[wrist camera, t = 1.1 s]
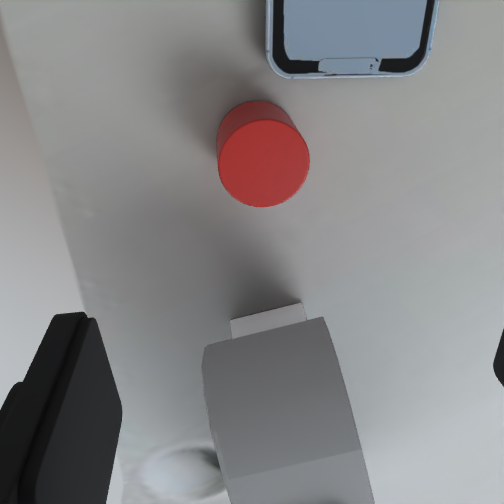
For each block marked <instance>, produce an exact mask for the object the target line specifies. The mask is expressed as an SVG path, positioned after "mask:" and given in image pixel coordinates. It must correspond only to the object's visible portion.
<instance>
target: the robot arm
mask: <svg viewBox="0 0 504 504" xmlns="http://www.w3.org/2000/svg"><path fill="white" fill-rule="evenodd" d="M493 368H494V372H495V375H496V377H497V378H498V380H499V381H500V382H501V384H502V385H503V386H504V329H503V332H502V336H501V339H500V342H499V346H498V349H497V352H496V355H495V359H494V363H493ZM121 422H122V405H121V401H120V398H119V394H118V391H117V388H116V384H115V381H114V377H113V374H112V371H111V367H110V364H109V361H108V357H107V354H106V351H105V347H104V344H103V341H102V337H101V334H100V331H99V327H98V324H97V321H96V319H95V318H88V317H87V315H86V314H85V312H75V313H65V314H56V315H55V316H54V317H53V319H52V320H51V322H50V325H49V327H48V329H47V331H46V333H45V335H44V337H43V340H42V342H41V344H40V346H39V348H38V350H37V353H36V355H35V357H34V359H33V361H32V363H31V365H30V367H29V370H28V372H27V374H26V376H25V378H24V380H23V382H18V383H16V384H15V385H14V386H13V387H12V389H11V390H10V392H9V393H8V396H7V398H6V400H5V402H4V404H3V406H2V408H1V410H0V504H106V500H107V495H108V490H109V485H110V479H111V474H112V469H113V464H114V458H115V453H116V448H117V443H118V438H119V433H120V428H121Z"/></svg>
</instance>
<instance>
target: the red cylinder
mask: <svg viewBox="0 0 504 504" xmlns="http://www.w3.org/2000/svg"><path fill="white" fill-rule="evenodd" d="M216 141H217V159H218V171H219V176H220V179H221V182H222V184H223V186H224V187H225V189H226V190H227V191H228V192H229V194H230V195H231V196H233V197H234V198H235V199H237V200H238V201H240V202H242V203H244V204H247V205H250V206H254V207H269V206H274V205H277V204H280V203H282V202H284V201H286V200H288V199H289V198H291V197H292V196H293V195H294V194H295V193H296V192H297V191H298V190H299V189H300V188H301V186H302V185H303V183H304V181H305V179H306V177H307V174H308V170H309V163H310V159H309V151H308V148H307V145H306V143H305V141H304V139H303V137H302V136H301V134H300V133H299V131H298V129H297V128H296V126H295V125H294V123H293V122H292V120H291V119H290V117H289V116H288V114H287V113H286V112H285V111H284V110H282V109H281V108H280V107H278V106H277V105H275V104H272V103H269V102H266V101H250V102H246V103H243V104H241V105H239V106H237V107H235V108H234V109H233V110H231V111H230V112H229V113H228V114H227V115H226V116H225V118H224V119H223V121H222V122H221V124H220V127H219V129H218V133H217V140H216Z"/></svg>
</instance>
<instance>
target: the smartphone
mask: <svg viewBox="0 0 504 504" xmlns="http://www.w3.org/2000/svg"><path fill="white" fill-rule="evenodd" d="M439 1H440V0H266V59H267V62H268V64H269V66H270V67H271V69H272V70H273V71H274V72H275V73H276V74H278V75H279V76H281V77H283V78H288V79H303V78H357V77H404V76H409V75H412V74H414V73H416V72H417V71H419V70H420V69H421V68H422V67H423V66H424V64H425V63H426V61H427V60H428V57H429V55H430V51H431V46H432V40H433V34H434V29H435V23H436V18H437V12H438V6H439Z"/></svg>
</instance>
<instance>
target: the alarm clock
mask: <svg viewBox="0 0 504 504" xmlns="http://www.w3.org/2000/svg"><path fill="white" fill-rule="evenodd" d="M230 323H231V332H232V339H230V340H226V341H222V342H218V343H214V344H210V345H208V346H206V347H205V349H204V355H203V360H202V376H203V389H204V397H205V402H206V407H207V413H208V418H209V424H210V429H211V433H212V437H213V441H214V445H215V449H216V453H217V457H218V461H219V465H220V469H221V473H222V477H223V480H224V483H225V486H226V489H227V492H228V496H229V499H230V502H231V504H375V503H374V498H373V494H372V490H371V486H370V481H369V477H368V473H367V469H366V465H365V461H364V456H363V452H362V448H361V444H360V440H359V436H358V433H357V429H356V425H355V421H354V417H353V413H352V409H351V405H350V402H349V398H348V394H347V391H346V387H345V384H344V380H343V377H342V373H341V369H340V366H339V362H338V359H337V356H336V352H335V349H334V346H333V343H332V340H331V337H330V333H329V330H328V328H327V325H326V323H325V321H324V318H323V317H319V318H315V319H311V320H307V319H306V315H305V312H304V308H303V305H302V302H301V303H297V304H293V305H289V306H285V307H281V308H277V309H273V310H269V311H265V312H261V313H257V314H253V315H249V316H245V317H241V318H237V319H233V320H230Z"/></svg>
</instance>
